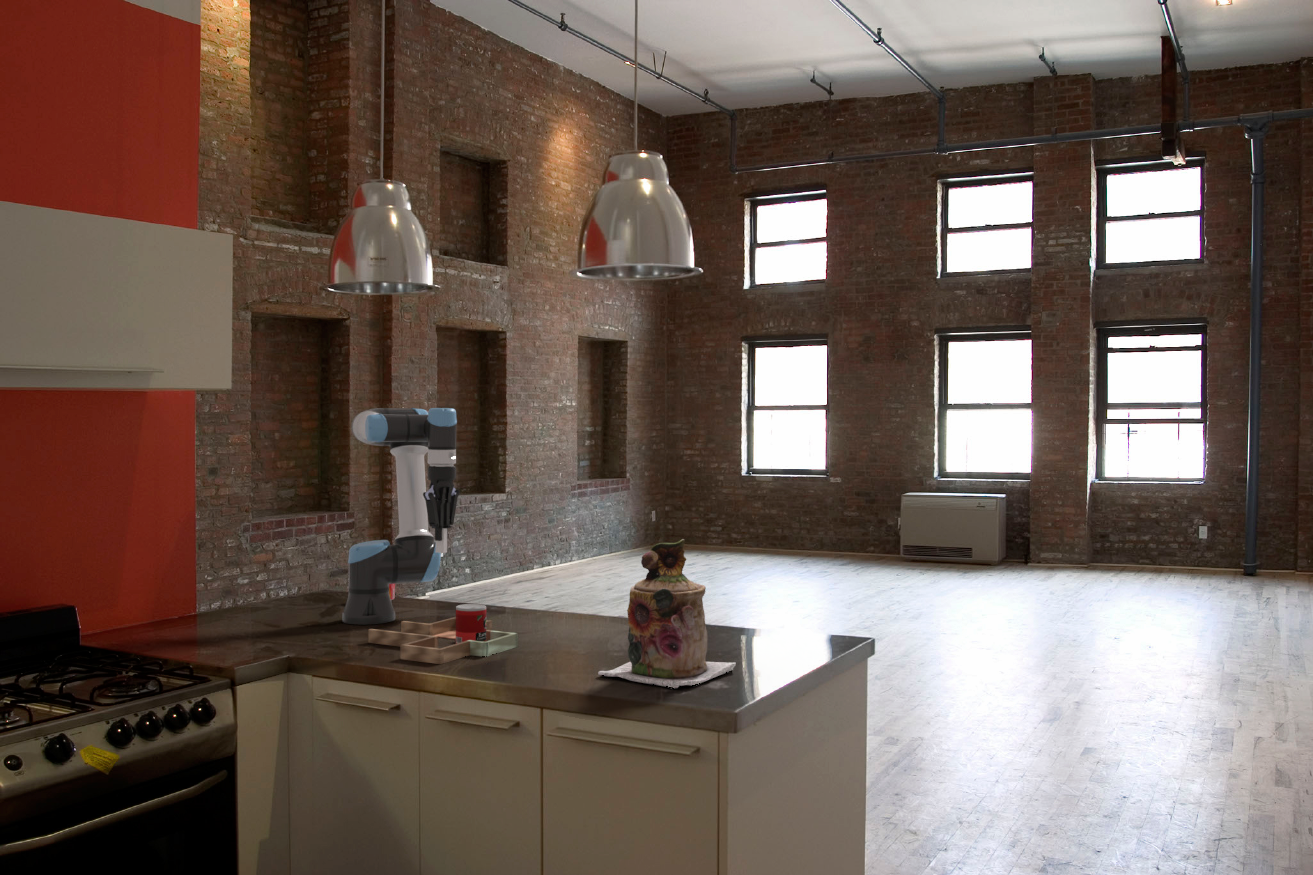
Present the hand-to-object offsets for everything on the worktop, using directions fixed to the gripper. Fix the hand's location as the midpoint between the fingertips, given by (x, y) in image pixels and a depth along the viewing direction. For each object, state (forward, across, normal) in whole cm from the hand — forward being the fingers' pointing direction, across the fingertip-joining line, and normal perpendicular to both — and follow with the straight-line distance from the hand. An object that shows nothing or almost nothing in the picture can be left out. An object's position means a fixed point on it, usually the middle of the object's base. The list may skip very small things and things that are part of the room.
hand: (441, 552), depth 298 cm
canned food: (+24, -5, -14) cm, 28 cm away
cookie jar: (+23, -7, -73) cm, 76 cm away
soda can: (+26, +42, +57) cm, 75 cm away
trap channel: (+24, -5, -4) cm, 24 cm away
